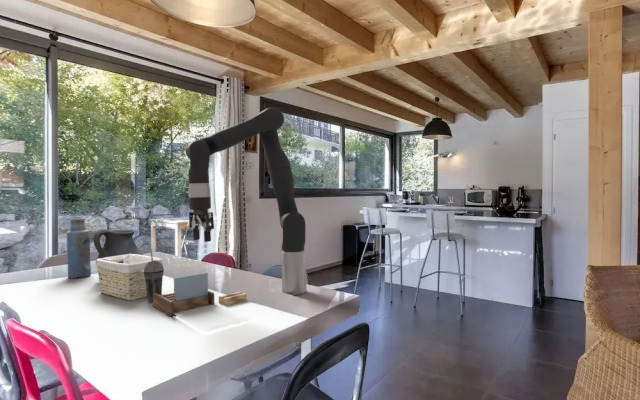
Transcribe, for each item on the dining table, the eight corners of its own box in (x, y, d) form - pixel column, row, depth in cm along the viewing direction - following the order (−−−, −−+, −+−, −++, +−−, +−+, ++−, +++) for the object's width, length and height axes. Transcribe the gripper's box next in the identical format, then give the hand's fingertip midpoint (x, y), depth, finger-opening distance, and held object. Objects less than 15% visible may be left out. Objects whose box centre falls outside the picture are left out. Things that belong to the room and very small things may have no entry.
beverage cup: (168, 299, 146) (167, 248, 145) (155, 304, 139) (153, 250, 138) (153, 297, 148) (152, 247, 148) (139, 302, 141) (138, 250, 141)
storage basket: (165, 293, 155) (165, 257, 155) (127, 303, 142) (126, 264, 141) (132, 285, 168) (132, 252, 168) (94, 294, 155) (94, 258, 154)
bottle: (83, 278, 183) (81, 217, 182) (63, 278, 183) (61, 217, 182) (95, 274, 192) (93, 215, 191) (76, 274, 192) (74, 216, 192)
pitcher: (153, 277, 183) (152, 226, 182) (108, 287, 164) (106, 231, 164) (129, 273, 194) (128, 225, 193) (84, 282, 175) (83, 228, 175)
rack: (195, 297, 148) (194, 285, 147) (214, 306, 136) (214, 292, 136) (153, 306, 136) (152, 293, 136) (170, 317, 125) (170, 302, 125)
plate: (206, 302, 138) (206, 272, 138) (208, 302, 137) (207, 272, 137) (174, 309, 130) (173, 277, 130) (175, 310, 129) (175, 278, 129)
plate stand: (239, 300, 143) (239, 291, 143) (247, 303, 140) (247, 293, 139) (218, 305, 137) (218, 296, 137) (225, 308, 133) (225, 298, 133)
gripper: (219, 195, 133) (221, 240, 134) (200, 195, 143) (202, 238, 144) (199, 196, 128) (201, 243, 129) (181, 196, 138) (183, 240, 139)
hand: (201, 240), depth 136 cm, fingers open, 8 cm apart
